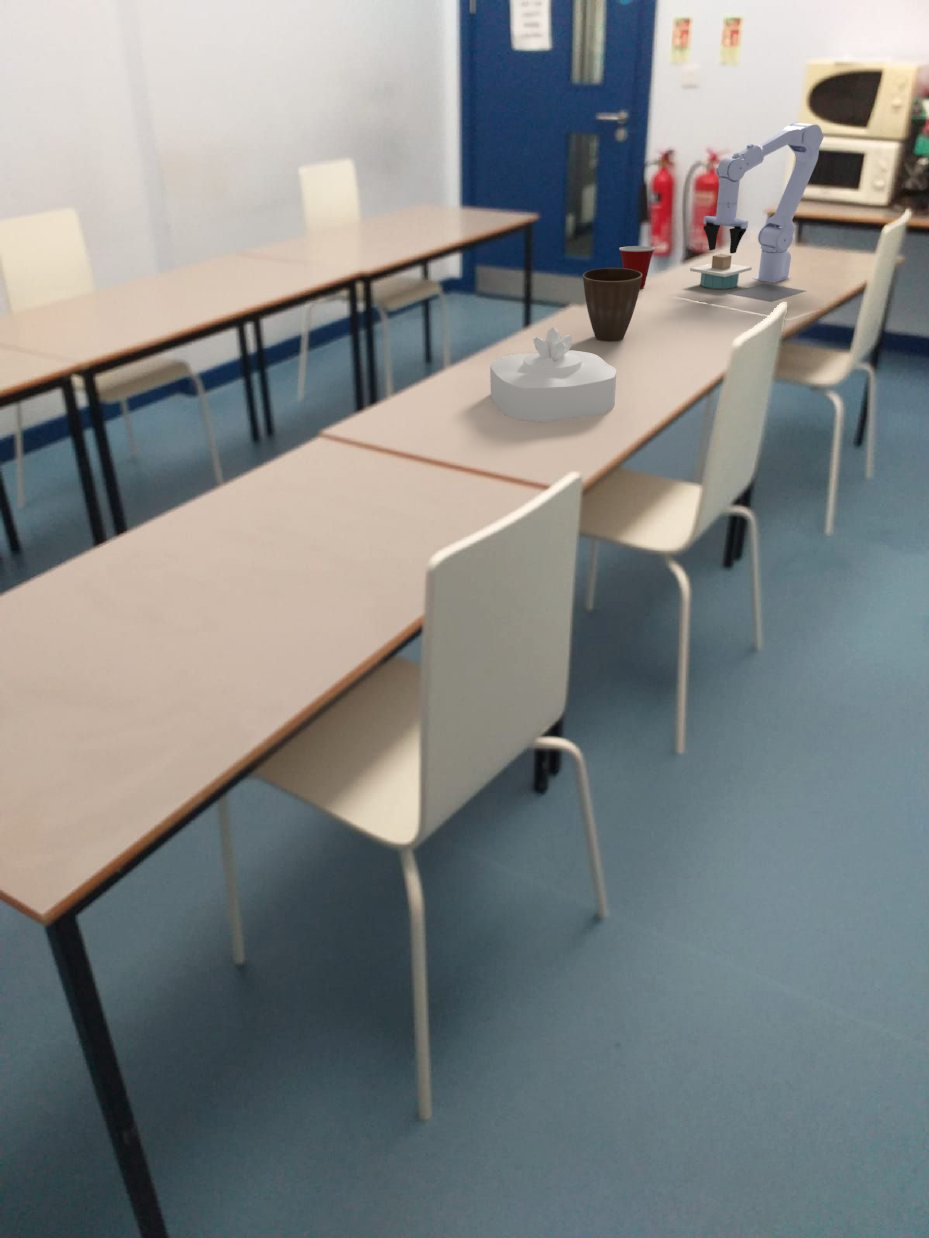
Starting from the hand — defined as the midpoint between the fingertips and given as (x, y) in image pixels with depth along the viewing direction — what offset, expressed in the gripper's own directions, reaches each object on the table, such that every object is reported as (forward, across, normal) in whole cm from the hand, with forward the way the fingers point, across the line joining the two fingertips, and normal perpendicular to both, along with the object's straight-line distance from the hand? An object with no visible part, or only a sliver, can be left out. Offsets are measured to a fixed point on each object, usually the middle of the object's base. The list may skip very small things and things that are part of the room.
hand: (722, 251), depth 293 cm
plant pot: (+10, +14, -65) cm, 68 cm away
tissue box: (+11, +38, -111) cm, 118 cm away
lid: (+6, 0, 0) cm, 6 cm away
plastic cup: (+11, -19, -17) cm, 28 cm away
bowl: (+10, 0, 0) cm, 11 cm away
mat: (+10, +16, +2) cm, 19 cm away
